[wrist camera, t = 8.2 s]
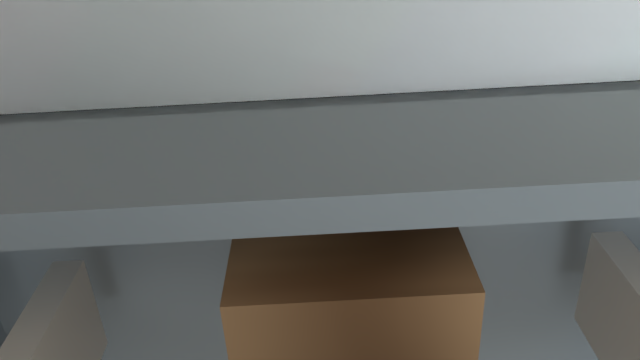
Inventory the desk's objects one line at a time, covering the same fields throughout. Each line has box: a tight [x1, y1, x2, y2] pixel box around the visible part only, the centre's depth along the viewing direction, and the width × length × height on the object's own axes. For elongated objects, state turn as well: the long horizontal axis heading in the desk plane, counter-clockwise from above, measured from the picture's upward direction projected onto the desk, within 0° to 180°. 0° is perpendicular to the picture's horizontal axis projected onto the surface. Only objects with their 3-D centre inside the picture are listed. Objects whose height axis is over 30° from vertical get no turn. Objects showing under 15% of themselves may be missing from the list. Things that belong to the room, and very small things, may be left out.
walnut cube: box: [220, 227, 485, 360], centre depth 15 cm, size 5×5×5 cm
